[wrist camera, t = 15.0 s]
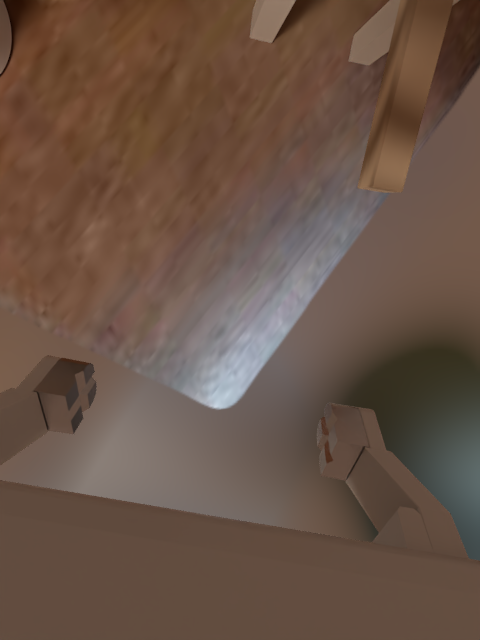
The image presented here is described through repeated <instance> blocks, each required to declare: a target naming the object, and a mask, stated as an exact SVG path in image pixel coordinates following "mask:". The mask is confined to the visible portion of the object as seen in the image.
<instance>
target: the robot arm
mask: <svg viewBox="0 0 480 640" xmlns="http://www.w3.org/2000/svg"><path fill="white" fill-rule="evenodd" d="M11 43H12V33H11V25H10V19H9V15H8V12H7V9H6V6H5V3H4V1H3V0H0V74H1V73H2V71H3V70H4V68H5V66H6V64H7V62H8V59H9V55H10V51H11ZM94 372H95V371H94V367H93V364H91V363H86V362H81V361H76V360H71V359H66V358H59V357H53V356H46V357H44V358H43V359H42V360H41V361H40V362H39V363H38V364H37V366H36V367H35V368H34V369H33V370H32V371H31V373H30V374H29V375H28V376H27V377H26V378H25V379H24V380H23V381H22V382H21V384H20V385H19V386H18V387H17V388H16V389H15V388H10V389H8V390H6V391H4V392H2V393H0V465H2V464H3V463H4V462H6V461H7V460H9V459H10V458H12V457H13V456H14V455H16V454H17V453H19V452H20V451H22V450H23V449H24V448H26V447H27V446H29V445H30V444H32V443H33V442H34V441H36V440H37V439H39V438H40V437H42V436H43V435H45V434H46V433H47V432H48V431H54V432H62V433H69V434H74V433H75V431H76V429H77V428H78V426H79V424H80V423H81V421H82V419H83V414H82V412H83V411H85V410H87V409H88V408H90V406H91V404H92V402H93V400H94V398H95V394H96V387H97V386H96V381H95V380H94V379H93V378H92V375H93V373H94ZM324 412H325V417H323V418H321V419H320V422H319V425H318V430H317V445H318V447H319V448H320V450H321V451H322V452H321V454H320V456H319V463H320V471H321V476H326V477H330V478H336V479H341V480H346V482H347V484H348V486H349V487H350V489H351V490H352V492H353V493H354V495H355V497H356V498H357V500H358V501H359V503H360V504H361V506H362V507H363V509H364V510H365V512H366V514H367V515H368V517H369V518H370V519H371V521H372V523H373V524H374V526H375V527H376V529H377V530H378V532H379V534H378V535H377V537H376V538H375V539H374V540H373V542H372V543H371V542H365V541H359V540H353V539H347V538H341V537H336V536H330V535H324V534H318V533H311V532H306V531H300V530H293V529H287V528H282V527H276V526H270V525H264V524H258V523H252V522H246V521H240V520H234V519H228V518H222V517H216V516H210V515H204V514H198V513H192V512H186V511H181V510H174V509H169V508H162V507H157V506H151V505H145V504H139V503H133V502H127V501H121V500H115V499H109V498H103V497H97V496H91V495H86V494H80V493H74V492H68V491H61V490H56V489H50V488H44V487H38V486H32V485H26V484H20V483H14V482H7V481H2V480H0V640H480V561H479V560H473V559H469V558H468V555H467V553H466V551H465V548H464V546H463V543H462V541H461V538H460V536H459V534H458V531H457V528H456V526H455V524H454V521H453V519H452V516H451V514H450V513H449V512H448V511H447V510H446V509H445V508H444V507H443V506H442V504H441V503H439V501H438V500H437V499H436V498H435V497H434V496H433V495H432V494H431V493H430V492H429V491H428V490H427V489H426V488H425V487H424V486H423V485H422V484H421V483H420V481H419V480H418V479H416V477H415V476H414V475H413V474H412V473H411V472H410V471H409V470H408V469H407V468H406V467H405V466H404V465H403V464H402V463H401V462H400V461H399V460H398V459H397V458H396V456H395V455H394V454H393V453H392V452H390V451H386V448H385V445H384V441H383V438H382V435H381V432H380V428H379V426H378V422H377V419H376V415H375V413H374V411H373V410H371V409H364V408H359V407H352V406H345V405H339V404H333V403H328V404H327V405H326V407H325V410H324Z"/></svg>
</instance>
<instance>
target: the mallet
mask: <svg viewBox="0 0 480 640" xmlns="http://www.w3.org/2000/svg"><path fill="white" fill-rule="evenodd" d="M453 1H454V0H400V4H399V8H398V13H397V17H396V21H395V26H394V30H393V35H392V39H391V43H390V48H389V52H388V56H387V61H386V65H385V70H384V74H383V78H382V83H381V87H380V91H379V96H378V100H377V105H376V109H375V113H374V118H373V122H372V126H371V131H370V135H369V140H368V144H367V148H366V153H365V157H364V161H363V166H362V170H361V175H360V179H359V183H358V188H360V189H366V190H372V191H378V192H384V193H386V192H402V191H403V187H404V183H405V180H406V176H407V172H408V169H409V165H410V161H411V157H412V154H413V150H414V146H415V142H416V139H417V135H418V131H419V128H420V124H421V120H422V116H423V113H424V109H425V105H426V101H427V98H428V94H429V90H430V87H431V83H432V79H433V75H434V72H435V68H436V64H437V61H438V57H439V53H440V49H441V46H442V42H443V38H444V34H445V31H446V27H447V23H448V20H449V16H450V12H451V8H452V5H453Z"/></svg>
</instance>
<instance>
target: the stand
mask: <svg viewBox="0 0 480 640" xmlns="http://www.w3.org/2000/svg"><path fill="white" fill-rule="evenodd" d="M295 1H296V0H256V2H255V5H254V8H253V13H252V22H251V30H250V38H252V39H256V40H261V41H265V42H269V43H272V42H273V40H274V38H275V36H276V35H277V33H278V31H279V29H280V28H281V26H282V24H283V22H284V20H285V19H286V17H287V15H288V13H289V11H290V10H291V8H292V6H293V4H294V3H295ZM458 1H460V0H454V1H453V5H454V4H456V3H457V2H458ZM399 4H400V0H390V1H389V2H388V3H387V4H386V5H384V6H383V7H382V8H381V9H380V10H379V11H378V12H377V13H376V14H375V15H374V16H373V17H372V18H371V19H370V20H369V21H368V22H367V23H366V24H365V25H364V26H363V27H362V28H361V29H360V30H358V31H357V32H356V33H355V34H354V37H353V42H352V47H351V52H350V57H349V61H350V62H354V63H359V64H363V65H367V66H369V65H370V64H372V63H373V62H374V61H376V60H377V59H379V58H380V57H381V56H383V55H384V54H386V53H387V52H388V51H389V48H390V43H391V39H392V35H393V30H394V26H395V21H396V17H397V13H398V8H399ZM453 5H452V6H453Z"/></svg>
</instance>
